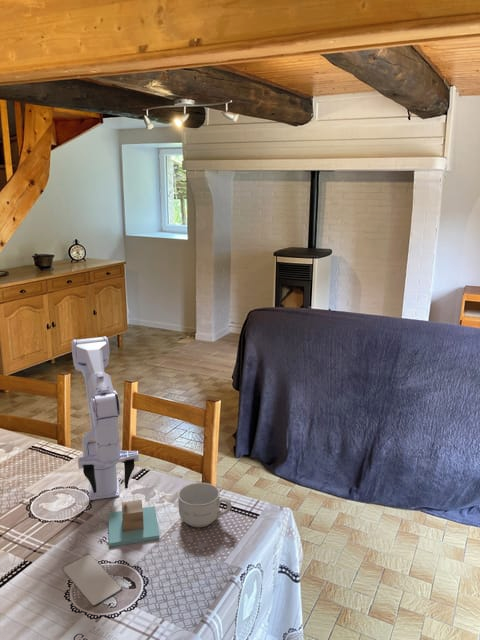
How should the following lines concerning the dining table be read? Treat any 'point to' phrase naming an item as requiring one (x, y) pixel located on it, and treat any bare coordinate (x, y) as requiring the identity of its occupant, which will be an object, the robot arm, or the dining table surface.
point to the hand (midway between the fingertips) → (110, 488)
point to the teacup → (201, 504)
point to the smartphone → (92, 580)
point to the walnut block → (132, 515)
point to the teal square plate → (133, 536)
